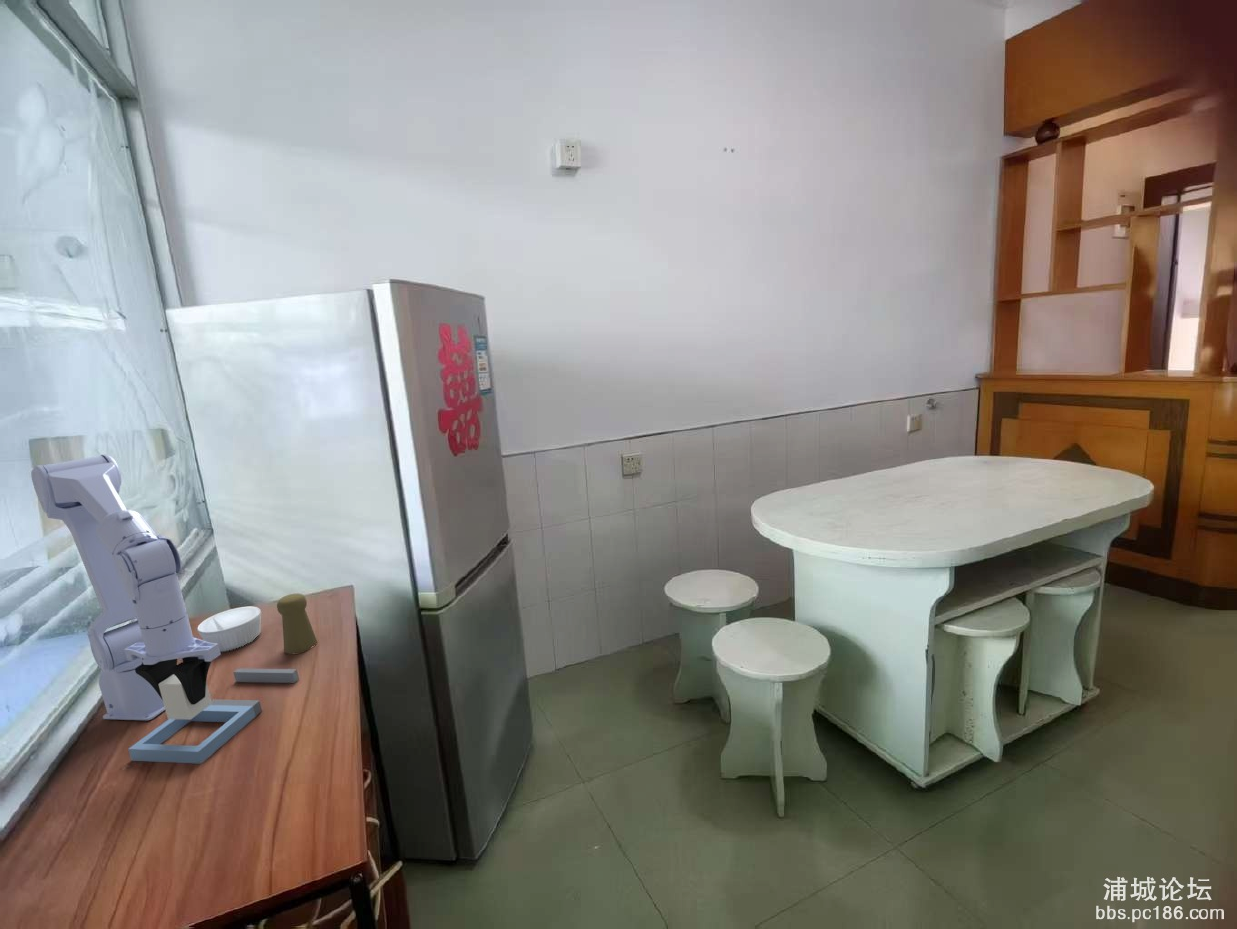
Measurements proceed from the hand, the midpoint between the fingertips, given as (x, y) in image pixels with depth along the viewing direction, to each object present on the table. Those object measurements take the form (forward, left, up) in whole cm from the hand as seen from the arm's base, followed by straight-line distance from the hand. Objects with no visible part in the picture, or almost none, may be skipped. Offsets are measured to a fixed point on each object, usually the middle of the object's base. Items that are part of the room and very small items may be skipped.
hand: (185, 700), depth 90 cm
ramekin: (-19, +30, -7) cm, 36 cm away
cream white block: (0, 0, -2) cm, 2 cm away
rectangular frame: (0, +6, -7) cm, 9 cm away
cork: (-2, +28, -7) cm, 28 cm away
